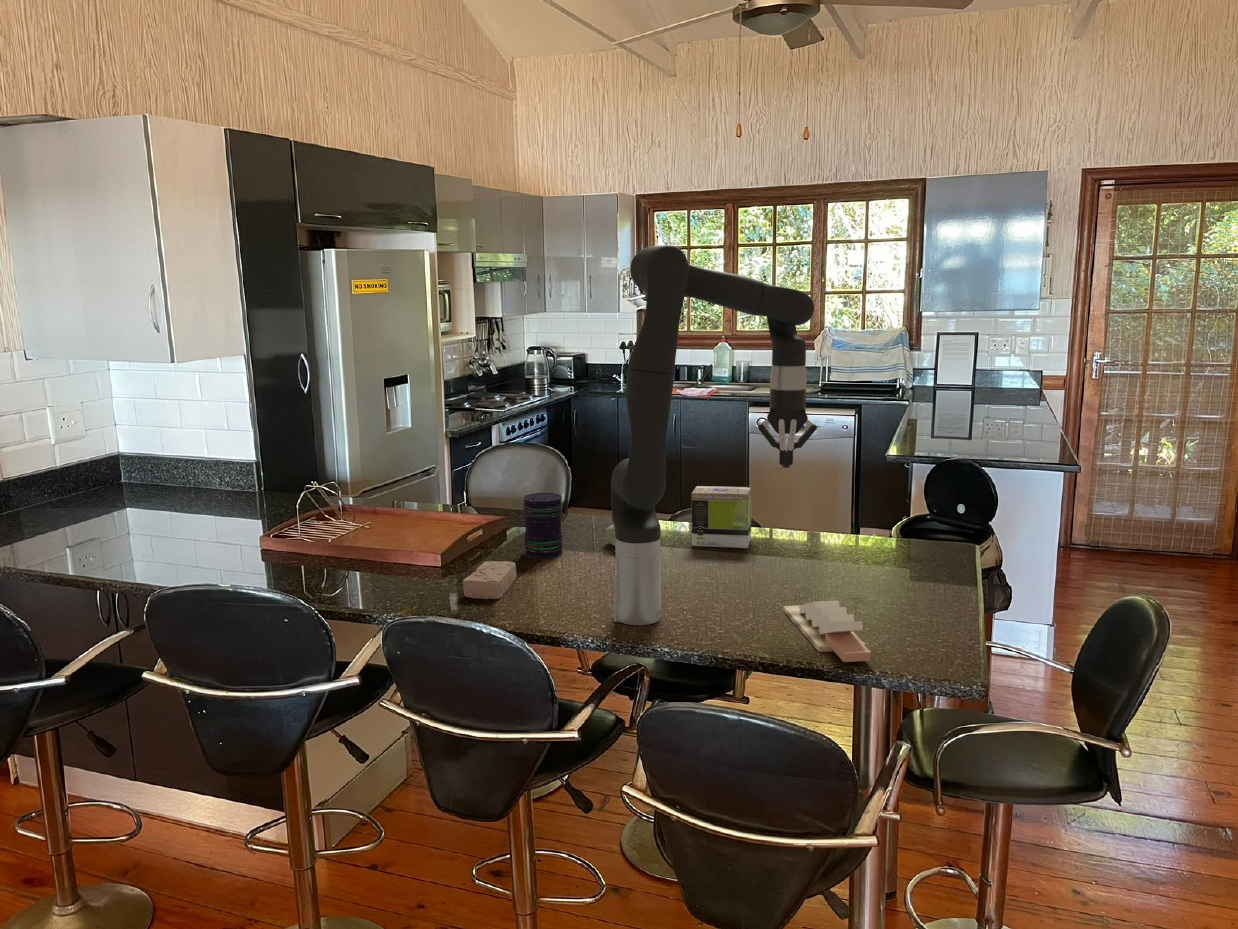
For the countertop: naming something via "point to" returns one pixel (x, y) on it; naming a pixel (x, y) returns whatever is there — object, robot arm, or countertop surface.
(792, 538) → the countertop surface
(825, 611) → the tile
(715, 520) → the tea box
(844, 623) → the tile
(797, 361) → the robot arm
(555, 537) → the storage jar
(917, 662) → the countertop surface
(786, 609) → the domino board
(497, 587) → the brick
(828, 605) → the tile
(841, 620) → the tile
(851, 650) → the tile
